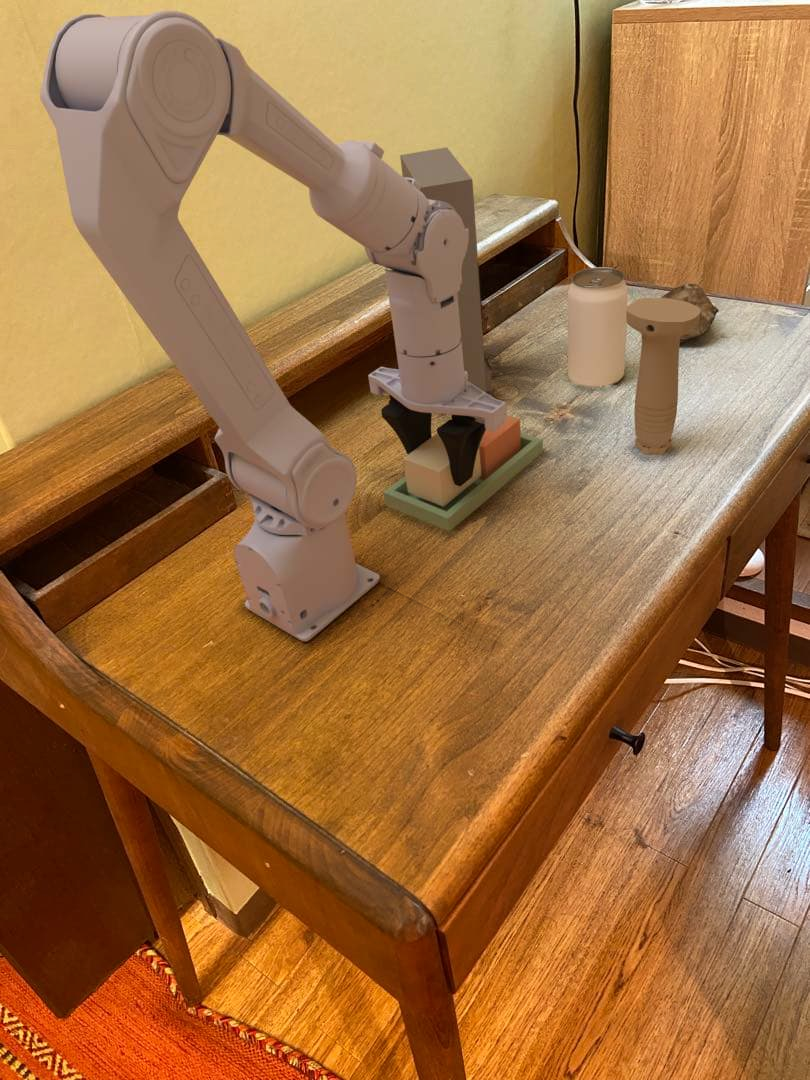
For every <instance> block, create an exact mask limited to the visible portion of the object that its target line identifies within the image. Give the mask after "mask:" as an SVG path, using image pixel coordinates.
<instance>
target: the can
mask: <svg viewBox="0 0 810 1080" xmlns="http://www.w3.org/2000/svg"><path fill="white" fill-rule="evenodd" d="M628 289H629V288H628V285H627V283H626V281H625V273H624V272H623V271H622V270H620V269H617V268H615V267H608V266H607V267H606V266H596V267H595V266H594V267H588V268H584V269H581V270H579V271H577V272H575V273H574V274H573V275H571V284H570V286H569V288H568V291H567V376H568V378H569V380H570V381H572V382H573V383H575V384H578V385H581V386H585V387H605V386H608V385H615V384H618V382H619V381H620V380H621V379H623V377H624V376H625V364H626V345H627V342H626V341H627V325H628V324H627V321H626V314H627V307H628V299H629V290H628Z"/></svg>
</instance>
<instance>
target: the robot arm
mask: <svg viewBox="0 0 810 1080" xmlns="http://www.w3.org/2000/svg"><path fill="white" fill-rule="evenodd" d="M39 98H40V101H41V103H42V105H43V106H44V109H45V110H46V112H47V114H48V116H49V118H50V120H51V121H52V124H53V126H54V127H55V133H56V137H57V143H58V148H59V153H60V159H61V164H62V170H63V175H64V180H65V186H66V191H67V195H68V202H69V207H70V212H71V216H72V220H73V223H74V224H75V226H76V228H77V230H78V232H79V234H80V235H81V236H82V238H83V240H84V241H85V243H87V245H88V246H89V248H90V249H91V250H92V252H93V253H94V255H95V256H96V258H97V259H98V260H99V262H100V264H101V265H102V266H103V267H104V269H105V270H106V271H107V273H108V274H109V276H110V277H111V279H112V280H113V281H114V282H115V285H117V287H118V288H119V290H120V291H121V292H122V294H123V295H124V297H125V298H126V299H127V300H128V303H129V304H130V305H131V306H132V308H133V309H134V311H135V313H137V315H138V316H139V318H140V319H141V320H142V322H143V323H144V325H145V326H146V327H147V329H148V330H149V332H150V333H151V334H152V336H153V337H154V339H155V340H156V341H157V342H158V344H159V346H160V347H161V348H162V350H163V351H164V353H165V354H166V355H167V357H168V358H169V359H170V362H172V364H173V365H174V367H175V368H176V369H177V370H178V372H179V373H180V374H181V376H182V378H183V379H184V380H185V382H186V383H187V384H188V386H189V387H190V389H191V391H192V392H193V393H194V394H195V396H196V397H197V398H198V400H199V402H200V403H201V404H202V406H203V407H204V409H205V410H206V411H207V412H208V414H209V415H210V417H211V418H212V420H213V421H214V423H215V424H216V425H217V426H218V430H217V431H216V434H215V436H214V439H213V440H214V442H215V443H216V444H217V446H218V447H219V449H220V450H221V452H222V455H223V458H224V465H225V466H224V467H225V472H226V475H227V478H228V480H229V481H230V483H231V484H232V485H233V487H235V488H236V489H238V490H239V491H242V492H243V493H248V494H247V496H248V499H249V502H250V506H251V507H252V508H253V514H254V517H255V519H254V521H253V523H252V525H251V527H250V529H249V531H248V532H247V533H246V534H245V535H244V536H243V538H242V539H241V540H240V541H239V542H238V543H237V544H236V545H235V547H234V548H233V558H234V562H235V566H236V569H237V571H238V574H239V578H240V581H241V584H242V586H243V590H244V593H245V596H246V600H245V602H244V607H245V609H247V610H248V611H250V612H252V613H254V614H255V615H257V616H258V617H261V618H262V619H264V620H265V621H267V622H269V623H271V624H272V625H274V626H275V627H277V628H279V629H280V630H282V631H284V632H286V633H287V634H289V635H291V636H292V637H294V638H296V639H297V640H299V641H301V642H308V641H310V640H311V639H313V638H314V637H315V636H316V635H317V634H319V633H320V632H321V631H322V630H324V629H325V628H326V627H327V626H328V625H329V624H331V623H332V622H333V621H334V620H335V619H337V618H338V617H339V616H340V615H341V614H343V613H344V612H345V611H346V610H347V609H349V607H351V606H352V605H354V604H355V603H356V602H357V601H358V600H359V599H360V598H361V597H363V596H364V595H365V594H366V593H368V592H369V591H370V590H371V589H373V588H374V586H376V585H377V584H378V583H379V582H380V579H381V575H380V574H379V573H378V572H375V571H373V570H371V569H369V568H367V567H365V566H363V565H360V564H359V563H356V559H355V553H354V548H353V543H352V539H351V534H350V530H349V524H348V519H347V514H346V513H347V512H348V511H349V507H350V505H351V503H352V501H353V499H354V496H355V494H356V489H357V481H358V480H357V478H358V475H357V468H356V466H355V463H354V461H353V460H352V458H351V457H350V456H349V455H348V454H347V453H345V452H344V451H342V450H340V449H336V448H335V447H334V446H332V445H331V444H330V442H329V441H328V439H327V438H326V436H325V434H324V433H323V432H322V431H321V430H320V429H319V428H318V427H316V426H315V425H314V424H313V423H312V422H311V421H309V420H308V419H307V418H306V417H305V416H304V415H302V414H301V413H300V412H299V411H297V410H296V409H295V407H293V405H291V403H290V401H289V400H288V398H287V397H286V395H285V394H284V392H283V391H282V389H281V387H280V386H279V384H278V382H277V380H276V379H275V377H274V376H273V374H272V372H271V370H270V369H269V367H268V366H267V364H266V362H265V361H264V359H263V358H262V356H261V354H260V352H259V351H258V349H257V347H256V346H255V344H254V343H253V340H252V339H251V337H250V336H249V334H248V333H247V330H246V329H245V328H244V326H243V324H242V322H241V321H240V320H239V318H238V316H237V314H236V313H235V311H234V309H233V307H232V306H231V305H230V303H229V301H228V300H227V298H226V296H225V295H224V292H223V291H222V289H221V288H220V287H219V284H218V283H217V281H216V280H215V278H214V276H213V274H212V273H211V272H210V269H209V268H208V266H207V265H206V263H205V261H204V260H203V258H202V256H201V255H200V253H199V251H198V250H197V248H196V247H195V245H194V243H193V241H192V240H191V239H190V236H189V235H188V233H187V232H186V230H185V229H184V227H183V225H182V223H181V222H180V220H179V210H180V208H181V204H182V200H183V199H184V197H185V194H186V193H187V191H188V189H189V187H190V185H191V183H192V182H193V180H194V179H195V176H196V175H197V173H198V170H199V169H200V167H201V165H202V164H203V162H204V160H205V158H206V156H207V154H208V153H209V151H210V150H211V147H212V145H213V144H214V142H215V140H216V138H217V136H224V137H226V138H227V139H229V140H231V141H232V142H234V143H235V144H237V145H239V146H240V147H242V148H244V149H245V150H247V151H249V152H250V153H252V154H253V155H255V156H256V157H258V158H260V159H262V160H263V161H265V162H266V163H267V164H270V165H271V166H273V167H274V168H276V169H277V170H279V171H281V172H283V174H286V175H287V176H289V177H291V178H292V179H294V180H295V181H297V182H299V183H300V184H302V185H303V186H305V187H307V188H308V197H309V201H310V206H311V207H312V210H313V212H314V213H315V214H316V216H318V217H319V218H321V219H322V220H324V221H326V222H327V223H329V225H331V226H333V227H334V228H336V229H337V230H339V231H341V232H342V233H343V234H345V235H346V236H348V237H350V238H351V239H352V240H354V241H355V242H356V243H358V244H360V245H361V246H362V247H364V250H365V253H366V256H367V258H368V260H369V261H370V263H371V264H373V265H378V266H381V267H384V268H385V269H384V274H385V281H386V288H387V296H388V302H389V309H390V317H391V323H392V329H393V336H394V337H393V338H394V343H395V344H394V345H395V351H396V360H397V366H398V369H397V368H390V367H384V366H380V367H378V368H377V369H375V370H374V371H372V372H371V373H369V374H368V376H367V377H368V383H369V389H370V393H371V394H373V395H377V396H381V395H382V394H387V395H389V400H388V404H386V405H385V406H383V407H382V408H381V410H380V412H381V417H382V419H383V420H384V421H386V423H387V424H388V425H389V426H390V428H391V429H392V430H393V431H394V433H395V434H396V436H397V437H398V439H399V441H400V442H401V444H402V446H403V448H404V450H405V453H406V454H407V455H408V454H410V453H411V452H412V451H414V450H415V449H416V448H418V447H419V446H420V445H422V444H423V443H424V442H426V441H427V440H429V439H430V438H431V437H433V436H432V419H433V418H432V417H433V415H432V414H437V415H438V414H439V415H451V419H448V420H447V421H445V422H444V423H442V424H441V425H440V426H438V427H437V428H436V434H438V435H439V437H440V438H441V440H442V442H443V444H444V446H445V449H446V451H447V454H448V458H449V463H450V470H451V475H452V478H453V481H454V484H455V485H457V486H462V485H463V484H464V483H465V482H467V481H468V480H469V479H470V478H472V476H473V470H474V464H475V459H476V455H477V451H478V448H479V445H480V442H481V440H482V437H483V435H484V433H485V431H486V429H487V430H490V431H493V432H494V431H495V430H497V429H498V428H500V427H501V426H502V425H503V424H504V423H506V422H507V416H508V414H507V402H506V401H502V400H500V399H497V398H495V397H493V396H492V395H491V396H492V397H491V396H490V395H488V394H487V393H485V392H484V391H482V390H481V389H479V388H478V387H476V386H475V385H473V384H471V383H470V382H468V381H467V379H468V372H467V371H464V364H463V352H462V341H461V330H460V318H459V307H458V295H457V292H458V291H459V290H460V284H461V283H462V273H461V269H462V263H463V260H464V257H465V255H466V251H467V247H468V240H469V229H465V228H464V224H463V221H462V219H461V217H460V216H459V215H458V214H457V212H456V210H455V209H454V207H452V206H451V205H450V204H449V203H447V202H443V201H437V200H430V199H427V198H426V197H425V195H424V194H423V193H422V192H421V191H420V188H421V185H420V183H418V182H417V181H416V180H415V179H413V178H407V177H403V176H402V174H400V173H399V172H398V171H396V170H395V169H394V168H393V167H392V166H390V165H389V164H388V163H387V162H385V161H384V160H383V159H382V158H383V157H384V153H385V151H384V149H383V148H382V147H381V146H380V145H378V143H376V142H375V141H366V140H360V141H358V140H354V139H353V140H345V141H342V142H339V143H335V142H334V141H333V140H331V139H330V138H329V137H328V136H327V135H326V134H325V133H324V132H322V131H321V130H320V129H319V128H318V127H317V126H316V125H315V124H313V122H311V121H310V120H309V119H308V118H307V117H305V116H304V114H302V113H301V112H300V111H299V110H298V109H297V108H296V107H294V106H293V105H292V104H291V103H290V102H289V101H288V100H287V99H286V98H284V96H282V95H281V94H280V93H279V92H278V91H277V90H276V89H274V88H273V86H271V85H270V84H269V83H268V82H266V80H265V79H263V77H261V76H260V75H259V74H258V73H257V72H256V71H255V70H253V68H251V67H250V66H249V64H248V63H247V61H246V60H245V58H244V56H243V53H242V52H241V50H240V49H239V48H238V47H237V46H235V45H233V44H232V43H231V42H228V41H226V40H225V39H223V38H221V37H216V36H215V35H214V33H212V32H211V30H210V29H209V28H208V27H207V26H206V25H204V23H203V22H202V21H200V20H199V19H197V18H196V17H194V16H193V15H190V14H188V13H186V12H183V11H179V10H170V9H169V10H159V11H155V12H152V13H151V14H145V15H144V14H143V15H119V16H106V15H103V14H99V13H98V14H93V13H86V14H79V15H76V16H74V17H72V18H70V19H68V20H67V21H65V23H63V24H62V25H61V26H60V27H59V29H57V31H56V33H55V34H54V36H53V38H52V40H51V42H50V46H49V48H48V52H47V59H46V64H45V68H44V72H43V78H42V84H41V88H40V91H39Z"/></svg>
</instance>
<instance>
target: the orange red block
mask: <svg viewBox="0 0 810 1080" xmlns="http://www.w3.org/2000/svg"><path fill="white" fill-rule="evenodd" d="M520 432H521V420H520V418H517V417H513V416H510V415H507V422H506V423H504V424H503V425H502V426H501V427H500V428H498V429H497V430H495V431H494V432H493V431H490V430H487V429H486V431H485V433H484V435H483V437H482V440H481V442H480V445H479V452H480V464H481V477H479V478H480V479H483V480H485V479H487V478H488V477H489V476H490V475H491V474H493V473H494V472H495V471H496V470H498V469H499V468H500V467H501V466H502V465H504V464H505V463H506V462H507V461H508V460H510V459H511V458H512V457H513V456H514V455H516V454H517V453H518V452H519V451H521V437H520Z"/></svg>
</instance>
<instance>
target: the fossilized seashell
mask: <svg viewBox="0 0 810 1080" xmlns="http://www.w3.org/2000/svg"><path fill="white" fill-rule="evenodd" d="M660 298H669V299H675V300H681V301H685V302H688V303H691V304H693V305H695V306H697V307H700V310H701V312H700V320H699V324H698V326H697V327H696V328H695V329H694V330H692V331H691V332H689V333H687V334H685V335H682V336H681V338H680V343H684V342H691V341H695V340H697V339H700V338H701V337H703V336H705V335H706V334H707V333H708V332H709V331H710V328H711V326H712V325H713V323H714V320H715V318H716V315H717V313H719V312H720V310H719V308H717V306H715V305H714V304H713V302H712V301H711V299H710V298H709V296H707V294H706V292H705V291H704V290H703V288H702V287H701V286H700V285H698V284H696V283H691V282H690V283H685V284H682V285H679V286H677V287H675V288H673V289H671V290H670V291H668V292H667V293H665V294H664V295H662V296H661V297H660Z"/></svg>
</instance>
